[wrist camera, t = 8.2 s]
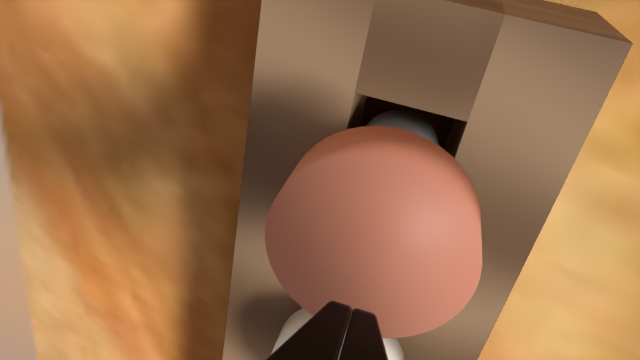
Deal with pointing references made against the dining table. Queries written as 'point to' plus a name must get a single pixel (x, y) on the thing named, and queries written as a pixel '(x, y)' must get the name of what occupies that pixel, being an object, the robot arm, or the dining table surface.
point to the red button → (379, 226)
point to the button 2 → (303, 316)
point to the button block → (433, 96)
